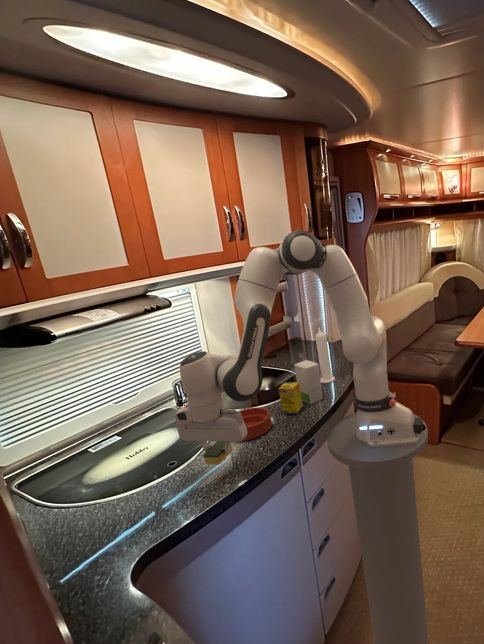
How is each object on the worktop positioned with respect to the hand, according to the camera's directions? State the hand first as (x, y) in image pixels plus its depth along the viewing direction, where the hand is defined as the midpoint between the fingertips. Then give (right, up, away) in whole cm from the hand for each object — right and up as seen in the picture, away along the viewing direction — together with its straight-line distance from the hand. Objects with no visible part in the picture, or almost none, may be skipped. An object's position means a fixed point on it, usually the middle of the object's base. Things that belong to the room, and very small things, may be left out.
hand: (218, 452), depth 108 cm
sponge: (0, -2, 0) cm, 2 cm away
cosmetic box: (+22, +9, +44) cm, 50 cm away
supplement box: (+16, +5, +35) cm, 39 cm away
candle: (+27, +15, +61) cm, 68 cm away
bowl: (+2, +1, +25) cm, 25 cm away
